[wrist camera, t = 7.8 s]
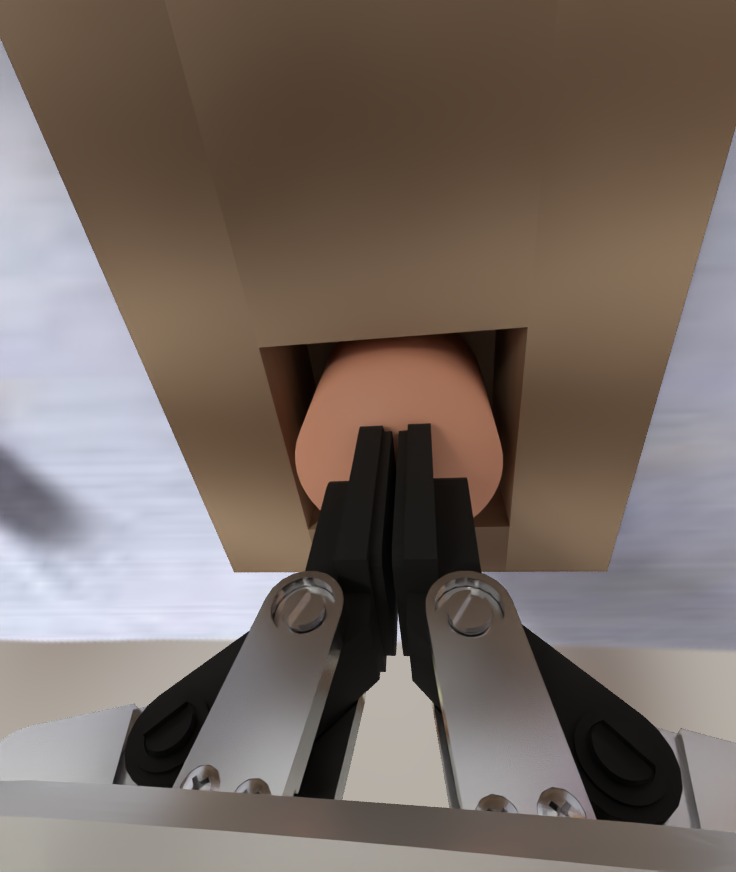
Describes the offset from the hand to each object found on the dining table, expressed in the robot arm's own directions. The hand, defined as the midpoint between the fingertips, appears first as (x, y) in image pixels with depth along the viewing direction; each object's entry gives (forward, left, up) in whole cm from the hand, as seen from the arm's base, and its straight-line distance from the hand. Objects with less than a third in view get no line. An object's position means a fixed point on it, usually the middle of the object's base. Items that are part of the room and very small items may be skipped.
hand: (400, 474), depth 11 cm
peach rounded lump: (0, 0, -4) cm, 4 cm away
